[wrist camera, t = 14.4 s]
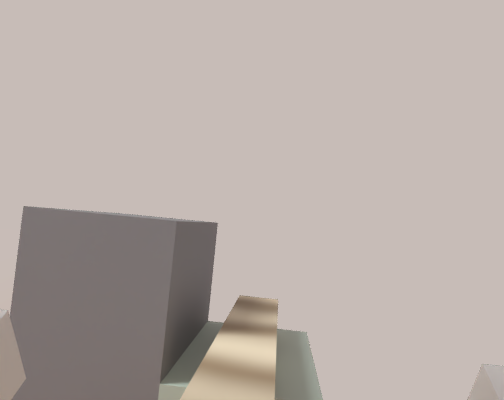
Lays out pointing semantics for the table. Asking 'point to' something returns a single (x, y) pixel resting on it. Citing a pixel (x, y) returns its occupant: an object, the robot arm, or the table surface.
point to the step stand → (124, 309)
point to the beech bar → (240, 355)
